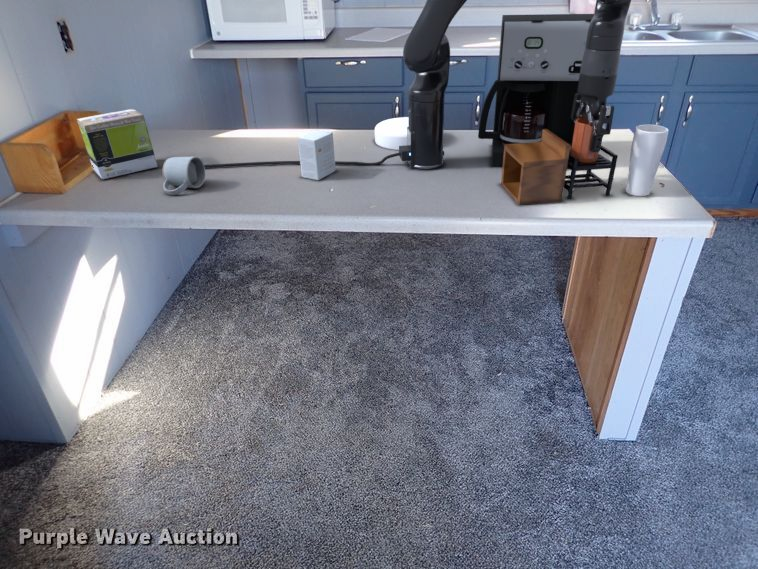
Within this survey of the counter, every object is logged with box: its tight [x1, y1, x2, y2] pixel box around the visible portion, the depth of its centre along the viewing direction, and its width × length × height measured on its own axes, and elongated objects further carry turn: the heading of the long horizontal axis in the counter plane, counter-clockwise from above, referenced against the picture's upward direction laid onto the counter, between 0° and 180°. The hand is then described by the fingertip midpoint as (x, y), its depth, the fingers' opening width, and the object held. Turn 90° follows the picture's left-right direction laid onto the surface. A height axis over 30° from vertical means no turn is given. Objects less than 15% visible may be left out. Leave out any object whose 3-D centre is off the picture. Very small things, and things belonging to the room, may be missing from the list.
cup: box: [571, 118, 600, 162], centre depth 124 cm, size 6×6×8 cm
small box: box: [297, 129, 336, 181], centre depth 141 cm, size 8×6×10 cm
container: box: [374, 116, 409, 151], centre depth 166 cm, size 20×20×5 cm
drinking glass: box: [625, 123, 670, 197], centre depth 123 cm, size 7×7×15 cm
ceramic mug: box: [161, 156, 206, 196], centre depth 136 cm, size 11×8×8 cm
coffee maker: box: [477, 13, 594, 170], centre depth 142 cm, size 28×20×35 cm
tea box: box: [76, 108, 158, 180], centre depth 147 cm, size 15×10×15 cm, turn 126°
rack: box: [564, 144, 619, 200], centre depth 127 cm, size 10×11×10 cm
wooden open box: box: [500, 129, 570, 206], centre depth 125 cm, size 10×13×13 cm
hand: (585, 146), depth 125 cm, fingers open, 8 cm apart
